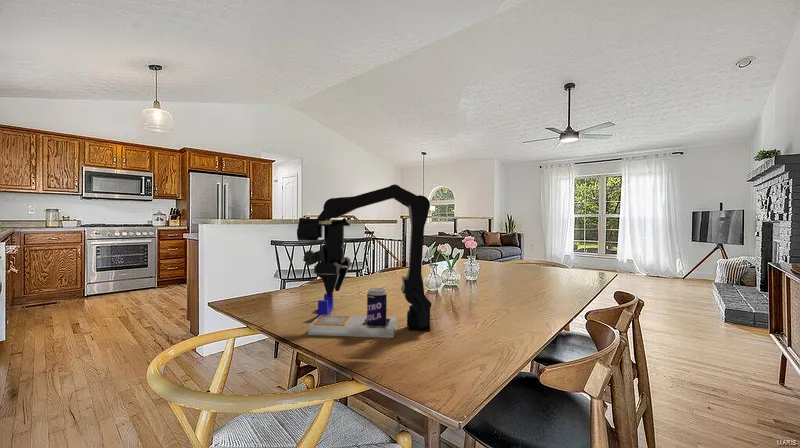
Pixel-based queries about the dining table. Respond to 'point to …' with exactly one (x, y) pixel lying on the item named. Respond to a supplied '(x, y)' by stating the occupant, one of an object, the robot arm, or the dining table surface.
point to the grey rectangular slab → (351, 326)
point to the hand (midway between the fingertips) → (333, 294)
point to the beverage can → (376, 307)
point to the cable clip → (325, 305)
